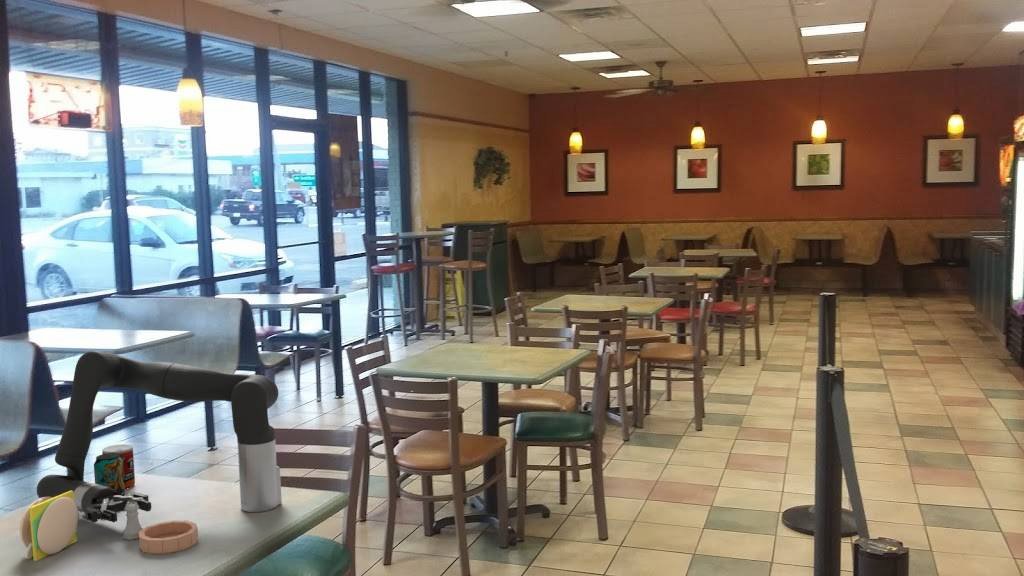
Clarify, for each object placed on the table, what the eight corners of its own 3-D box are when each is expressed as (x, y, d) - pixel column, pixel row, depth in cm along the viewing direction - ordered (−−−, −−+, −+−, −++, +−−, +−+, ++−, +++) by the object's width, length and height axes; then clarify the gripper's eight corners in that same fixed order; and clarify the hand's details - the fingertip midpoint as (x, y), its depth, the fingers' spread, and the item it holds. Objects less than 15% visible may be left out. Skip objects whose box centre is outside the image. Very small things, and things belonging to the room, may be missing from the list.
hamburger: (55, 539, 215) (51, 488, 214) (84, 542, 212) (81, 491, 211) (14, 558, 204) (9, 505, 202) (44, 561, 201) (40, 508, 200)
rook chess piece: (131, 542, 212) (129, 508, 211) (119, 538, 214) (117, 505, 213) (148, 535, 215) (146, 502, 215) (136, 532, 218) (133, 499, 217)
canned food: (124, 491, 249) (121, 452, 248) (98, 490, 251) (95, 451, 250) (141, 483, 257) (138, 444, 256) (115, 482, 258) (113, 443, 257)
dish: (176, 530, 219) (176, 517, 218) (209, 540, 211) (208, 527, 211) (128, 546, 209) (127, 533, 208) (160, 558, 201) (159, 544, 201)
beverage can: (118, 504, 238) (115, 459, 237) (91, 505, 239) (88, 460, 237) (129, 496, 245) (126, 452, 244) (103, 496, 246) (100, 452, 244)
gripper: (65, 493, 218) (102, 505, 208) (121, 477, 229) (159, 488, 219) (67, 524, 218) (105, 537, 209) (123, 507, 230) (161, 518, 220)
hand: (132, 512), depth 214 cm, fingers open, 8 cm apart
